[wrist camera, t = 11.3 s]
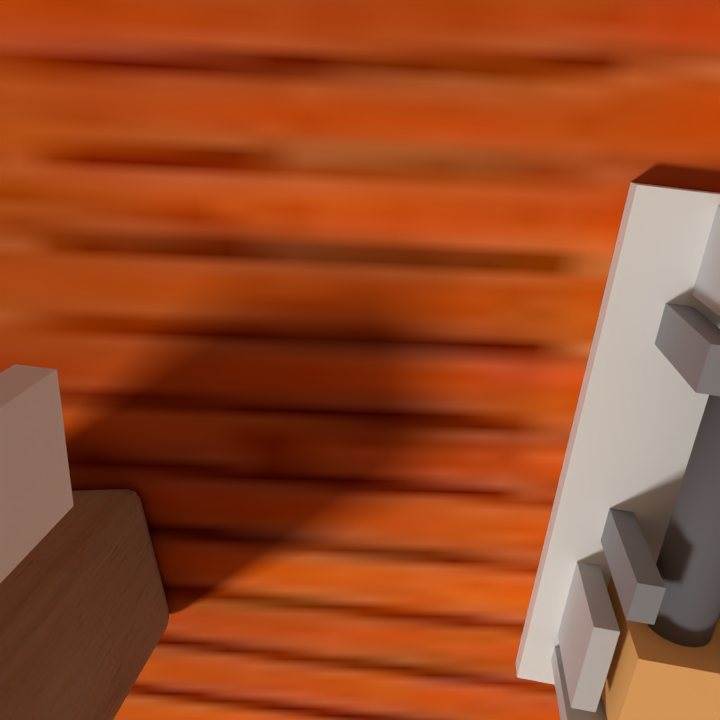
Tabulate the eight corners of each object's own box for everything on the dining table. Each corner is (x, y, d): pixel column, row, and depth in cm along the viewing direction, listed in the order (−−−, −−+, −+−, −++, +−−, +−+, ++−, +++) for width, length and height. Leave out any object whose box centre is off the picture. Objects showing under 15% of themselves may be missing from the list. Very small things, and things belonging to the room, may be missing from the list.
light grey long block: (630, 182, 31) (677, 200, 24) (912, 216, 29) (1046, 245, 23) (515, 661, 40) (526, 770, 34) (723, 701, 39) (777, 821, 32)
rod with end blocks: (717, 205, 29) (777, 226, 24) (838, 220, 29) (929, 246, 23) (590, 648, 38) (612, 739, 32) (682, 664, 37) (721, 761, 32)
